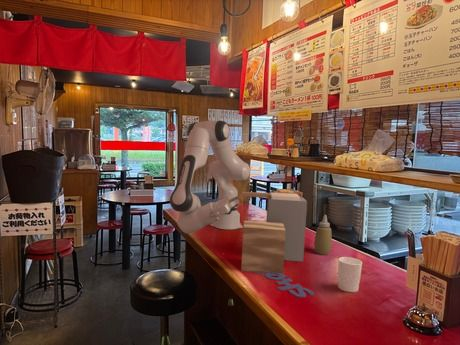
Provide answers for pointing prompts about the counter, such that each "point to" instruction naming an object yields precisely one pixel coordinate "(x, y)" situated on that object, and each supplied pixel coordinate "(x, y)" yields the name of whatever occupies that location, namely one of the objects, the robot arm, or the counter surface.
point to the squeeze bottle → (323, 237)
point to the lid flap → (272, 195)
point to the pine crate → (263, 247)
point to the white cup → (349, 273)
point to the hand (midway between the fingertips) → (239, 198)
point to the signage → (287, 284)
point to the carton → (290, 224)
